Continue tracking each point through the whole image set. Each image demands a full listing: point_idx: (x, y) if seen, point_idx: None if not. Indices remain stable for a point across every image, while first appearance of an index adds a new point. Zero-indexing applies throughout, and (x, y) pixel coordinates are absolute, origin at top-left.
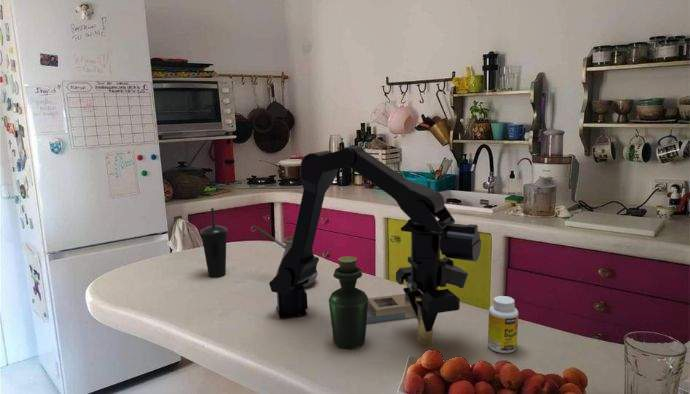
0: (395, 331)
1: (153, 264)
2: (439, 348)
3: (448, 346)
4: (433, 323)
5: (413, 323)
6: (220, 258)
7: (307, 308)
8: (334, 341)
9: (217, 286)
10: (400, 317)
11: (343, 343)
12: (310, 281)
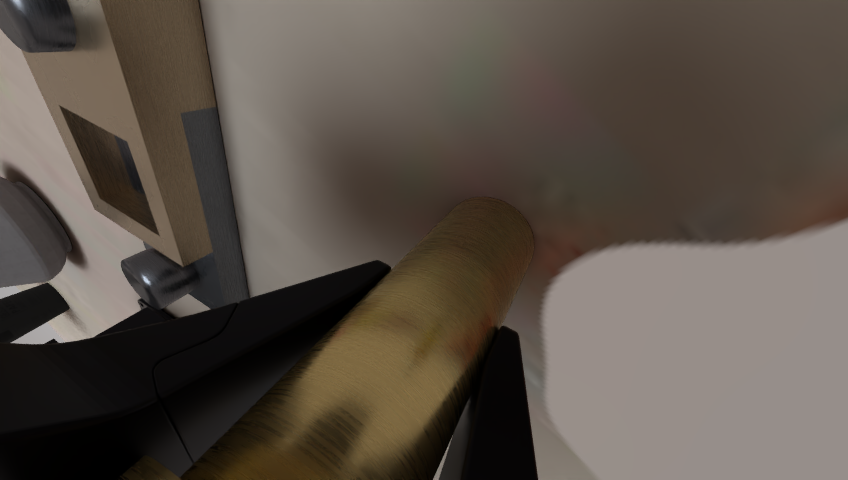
0: (317, 241)
1: (53, 324)
2: (598, 223)
3: (631, 147)
4: (525, 407)
5: (266, 107)
6: (9, 323)
7: (163, 321)
8: None
9: (96, 327)
10: (212, 135)
11: None
12: (29, 219)
